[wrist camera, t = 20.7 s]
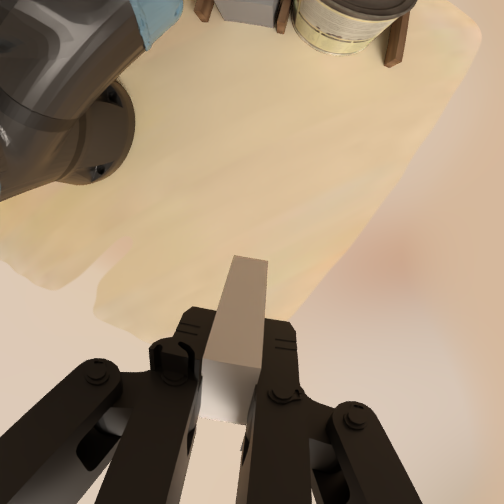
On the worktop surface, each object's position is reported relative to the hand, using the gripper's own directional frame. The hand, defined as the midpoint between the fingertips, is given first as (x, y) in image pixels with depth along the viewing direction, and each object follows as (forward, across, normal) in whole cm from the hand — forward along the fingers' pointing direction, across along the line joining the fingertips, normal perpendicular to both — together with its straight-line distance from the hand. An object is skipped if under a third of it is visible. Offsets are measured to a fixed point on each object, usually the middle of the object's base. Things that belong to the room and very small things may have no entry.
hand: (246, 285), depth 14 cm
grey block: (+24, -5, +22) cm, 33 cm away
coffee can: (+24, +5, +23) cm, 34 cm away
